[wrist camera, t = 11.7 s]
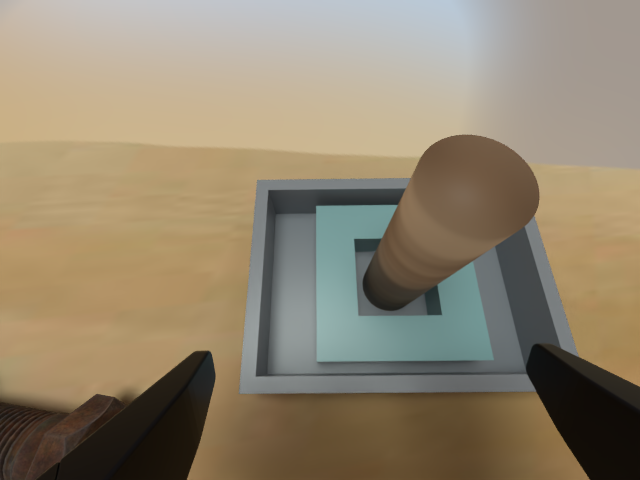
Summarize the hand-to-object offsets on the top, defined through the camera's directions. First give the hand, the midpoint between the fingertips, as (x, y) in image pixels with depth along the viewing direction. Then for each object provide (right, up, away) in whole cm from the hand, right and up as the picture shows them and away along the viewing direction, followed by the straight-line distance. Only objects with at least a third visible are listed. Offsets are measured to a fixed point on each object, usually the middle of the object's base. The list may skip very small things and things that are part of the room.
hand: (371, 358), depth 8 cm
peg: (+3, 0, +13) cm, 13 cm away
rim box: (+3, 0, +13) cm, 13 cm away
